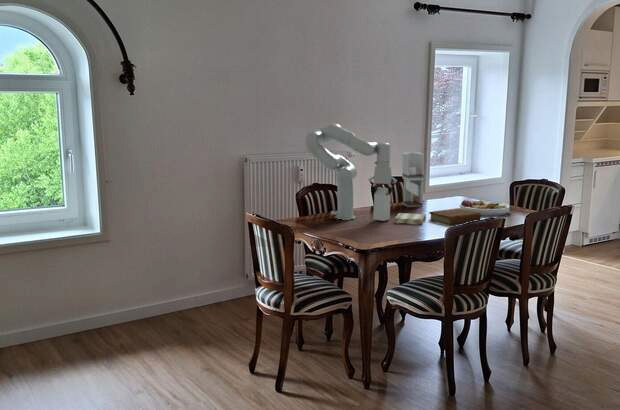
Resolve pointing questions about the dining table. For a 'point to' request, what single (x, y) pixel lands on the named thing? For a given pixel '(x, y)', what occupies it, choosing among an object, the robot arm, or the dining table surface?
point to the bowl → (485, 207)
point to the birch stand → (410, 218)
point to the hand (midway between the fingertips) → (382, 193)
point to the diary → (454, 216)
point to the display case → (413, 179)
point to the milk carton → (382, 204)
